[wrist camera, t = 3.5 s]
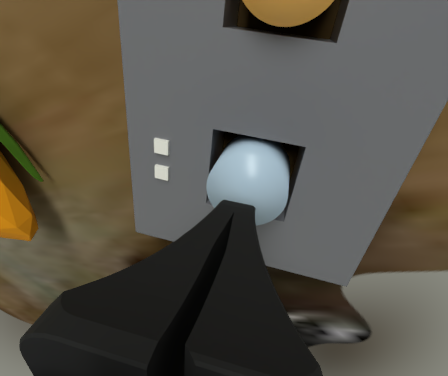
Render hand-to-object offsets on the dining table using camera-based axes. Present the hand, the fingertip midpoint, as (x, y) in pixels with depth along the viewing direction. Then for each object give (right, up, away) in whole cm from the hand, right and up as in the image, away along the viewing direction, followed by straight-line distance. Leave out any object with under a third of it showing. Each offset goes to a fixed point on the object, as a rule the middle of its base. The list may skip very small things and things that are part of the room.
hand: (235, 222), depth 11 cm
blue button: (+1, +3, +5) cm, 5 cm away
